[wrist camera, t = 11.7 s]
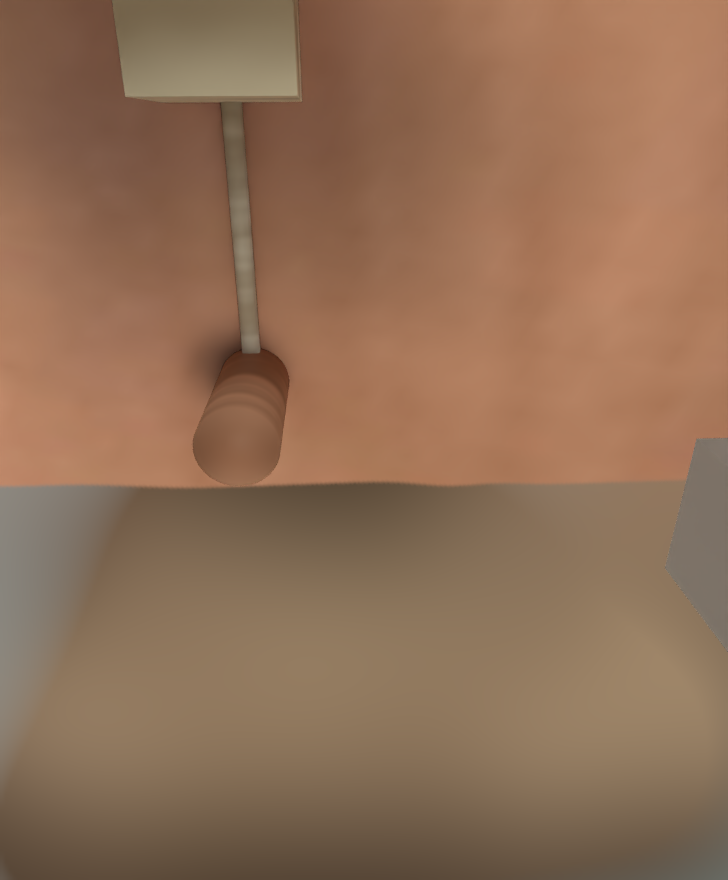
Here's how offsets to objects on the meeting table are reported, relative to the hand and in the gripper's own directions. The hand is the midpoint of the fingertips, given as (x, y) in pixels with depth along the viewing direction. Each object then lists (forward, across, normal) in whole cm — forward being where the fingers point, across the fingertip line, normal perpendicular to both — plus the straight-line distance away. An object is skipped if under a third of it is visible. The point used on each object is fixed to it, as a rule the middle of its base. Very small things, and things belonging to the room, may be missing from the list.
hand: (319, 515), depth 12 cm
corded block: (+23, -4, +2) cm, 23 cm away
